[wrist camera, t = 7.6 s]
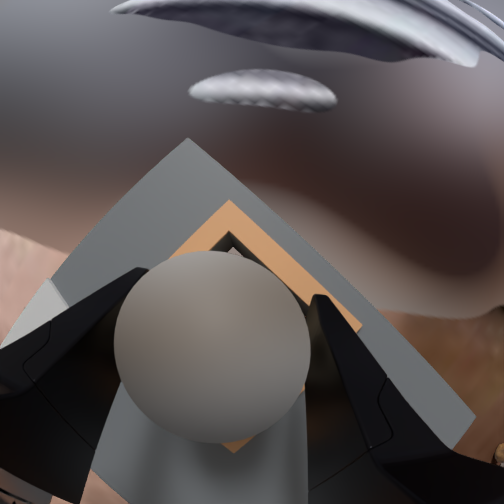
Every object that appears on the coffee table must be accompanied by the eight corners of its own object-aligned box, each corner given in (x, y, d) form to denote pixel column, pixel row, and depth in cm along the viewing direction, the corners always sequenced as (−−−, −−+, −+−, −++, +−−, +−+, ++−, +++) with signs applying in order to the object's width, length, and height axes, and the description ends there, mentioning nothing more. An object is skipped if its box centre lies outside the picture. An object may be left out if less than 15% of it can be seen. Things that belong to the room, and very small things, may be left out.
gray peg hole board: (448, 406, 14) (479, 417, 11) (274, 559, 12) (277, 587, 8) (197, 164, 17) (186, 134, 14) (30, 347, 14) (-3, 350, 11)
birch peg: (285, 342, 15) (343, 387, 5) (218, 376, 15) (173, 466, 5) (249, 276, 16) (250, 216, 6) (183, 310, 15) (86, 304, 6)
